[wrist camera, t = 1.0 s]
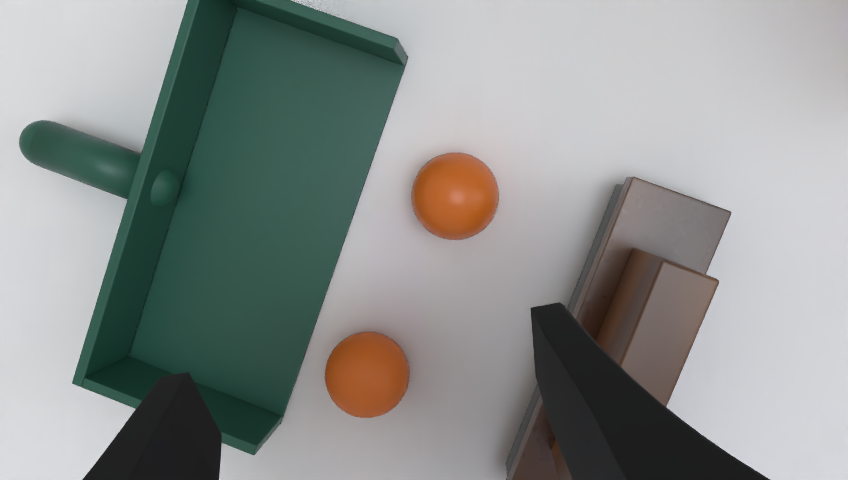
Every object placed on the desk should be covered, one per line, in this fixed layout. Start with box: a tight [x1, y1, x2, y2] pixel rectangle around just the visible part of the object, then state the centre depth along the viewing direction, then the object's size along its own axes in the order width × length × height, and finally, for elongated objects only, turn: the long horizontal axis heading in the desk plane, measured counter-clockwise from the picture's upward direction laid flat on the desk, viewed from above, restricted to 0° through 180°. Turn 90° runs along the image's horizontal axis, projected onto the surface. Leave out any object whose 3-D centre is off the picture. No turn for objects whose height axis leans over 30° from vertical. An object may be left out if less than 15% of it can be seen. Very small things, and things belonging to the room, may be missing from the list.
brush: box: [506, 177, 731, 480], centre depth 22 cm, size 4×13×6 cm, turn 160°
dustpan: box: [19, 0, 408, 455], centre depth 24 cm, size 13×16×3 cm
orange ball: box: [325, 332, 409, 418], centre depth 24 cm, size 3×3×3 cm
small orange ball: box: [411, 153, 499, 240], centre depth 23 cm, size 3×3×3 cm
